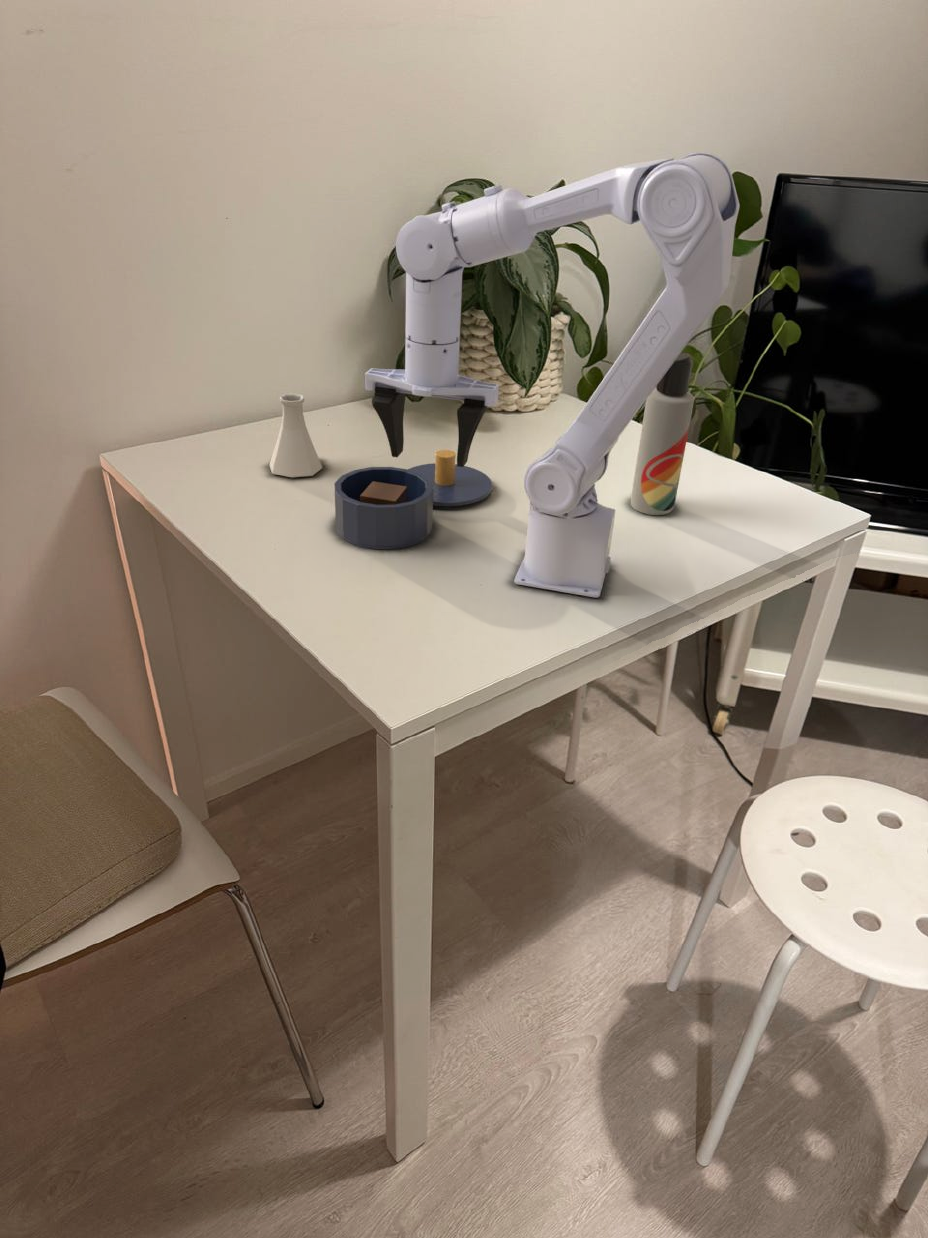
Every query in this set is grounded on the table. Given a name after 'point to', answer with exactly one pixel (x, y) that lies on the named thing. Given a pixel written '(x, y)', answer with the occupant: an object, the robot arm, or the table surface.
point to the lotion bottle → (663, 440)
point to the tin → (383, 509)
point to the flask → (294, 442)
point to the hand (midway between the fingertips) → (429, 458)
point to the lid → (454, 481)
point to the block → (384, 494)
